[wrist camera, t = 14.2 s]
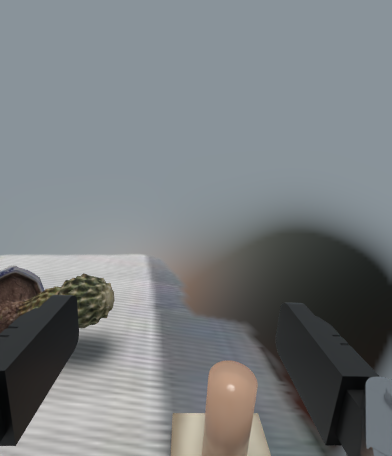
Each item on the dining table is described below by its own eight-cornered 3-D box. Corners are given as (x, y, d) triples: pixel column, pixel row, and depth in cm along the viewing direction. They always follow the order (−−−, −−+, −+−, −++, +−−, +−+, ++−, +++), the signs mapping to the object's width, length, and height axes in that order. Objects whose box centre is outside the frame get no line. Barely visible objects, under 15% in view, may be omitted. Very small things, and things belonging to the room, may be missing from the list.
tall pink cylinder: (202, 494, 25) (211, 401, 22) (199, 441, 30) (206, 360, 27) (249, 493, 25) (264, 401, 23) (239, 441, 30) (250, 361, 27)
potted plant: (-148, 313, 32) (76, 269, 33) (-31, 267, 50) (113, 239, 50) (-93, 420, 35) (109, 377, 36) (-2, 341, 53) (132, 313, 54)
